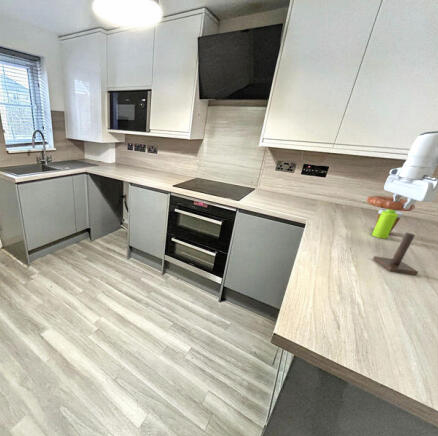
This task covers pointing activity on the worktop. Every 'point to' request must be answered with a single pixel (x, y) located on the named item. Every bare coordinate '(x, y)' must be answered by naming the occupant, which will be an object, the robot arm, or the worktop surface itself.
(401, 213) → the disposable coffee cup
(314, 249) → the worktop surface
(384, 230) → the soap dispenser
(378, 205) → the ring
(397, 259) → the stand
